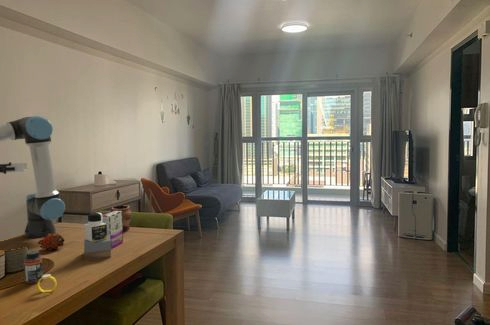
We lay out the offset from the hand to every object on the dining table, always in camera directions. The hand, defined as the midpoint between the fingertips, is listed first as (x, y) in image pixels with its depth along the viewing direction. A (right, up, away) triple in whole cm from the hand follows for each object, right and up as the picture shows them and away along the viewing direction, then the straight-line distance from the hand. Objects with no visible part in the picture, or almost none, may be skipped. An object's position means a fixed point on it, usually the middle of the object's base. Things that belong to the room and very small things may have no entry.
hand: (25, 167), depth 171 cm
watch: (+34, -44, -43) cm, 70 cm away
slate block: (+36, -37, -5) cm, 52 cm away
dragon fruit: (+10, -40, +4) cm, 42 cm away
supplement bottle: (+24, -43, -34) cm, 60 cm away
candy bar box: (+38, -39, +10) cm, 55 cm away
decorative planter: (+32, -37, +37) cm, 62 cm away
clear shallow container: (+36, -41, -5) cm, 55 cm away
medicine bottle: (+35, -33, -5) cm, 49 cm away
